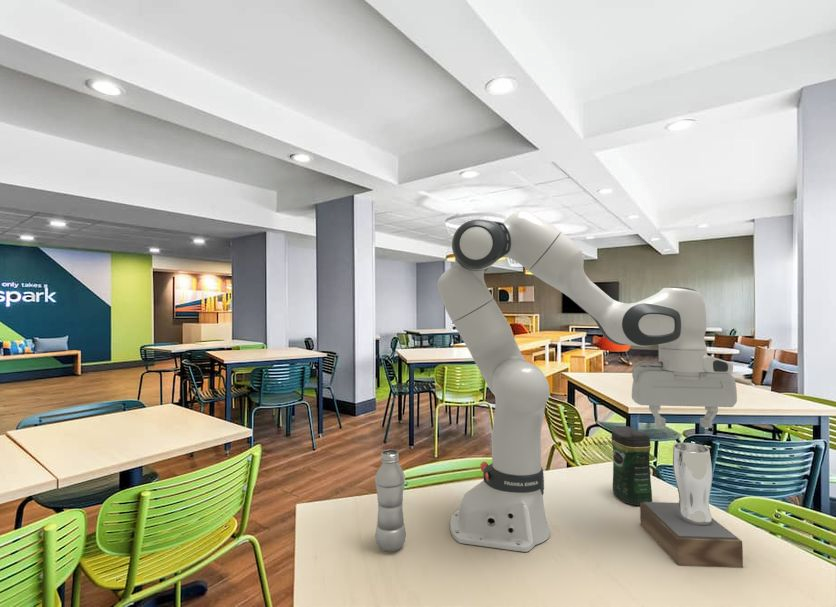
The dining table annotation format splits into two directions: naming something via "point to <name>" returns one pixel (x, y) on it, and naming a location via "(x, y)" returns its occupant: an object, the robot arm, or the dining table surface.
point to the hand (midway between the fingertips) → (683, 426)
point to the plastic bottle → (390, 503)
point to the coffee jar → (631, 465)
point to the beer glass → (693, 482)
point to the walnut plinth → (690, 537)
